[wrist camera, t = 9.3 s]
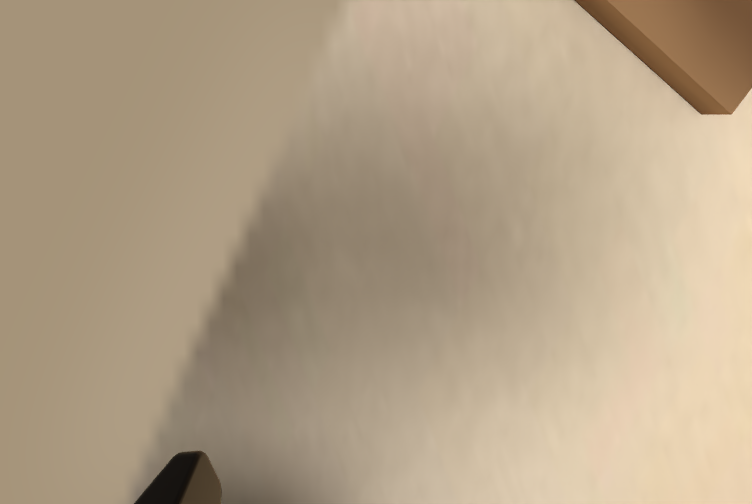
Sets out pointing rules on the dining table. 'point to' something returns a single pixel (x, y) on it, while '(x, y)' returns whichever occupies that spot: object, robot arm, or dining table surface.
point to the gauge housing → (687, 45)
